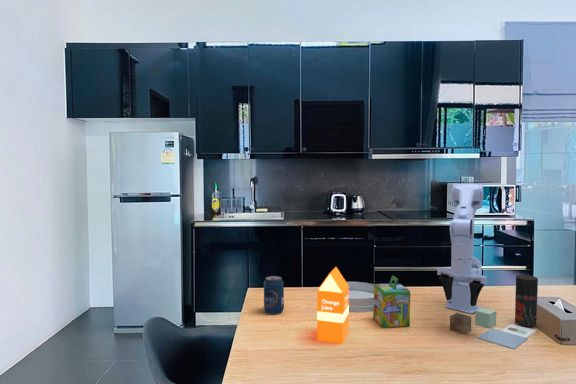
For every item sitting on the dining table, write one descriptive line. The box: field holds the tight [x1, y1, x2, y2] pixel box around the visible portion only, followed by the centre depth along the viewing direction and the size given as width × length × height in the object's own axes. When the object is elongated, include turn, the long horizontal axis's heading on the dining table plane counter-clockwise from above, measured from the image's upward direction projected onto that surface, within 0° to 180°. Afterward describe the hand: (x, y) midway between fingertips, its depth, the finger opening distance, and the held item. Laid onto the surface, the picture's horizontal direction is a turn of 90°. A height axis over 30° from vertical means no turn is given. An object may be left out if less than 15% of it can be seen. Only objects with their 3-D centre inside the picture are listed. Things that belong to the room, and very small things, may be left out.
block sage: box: [474, 307, 497, 329], centre depth 129 cm, size 4×4×4 cm
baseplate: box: [477, 327, 528, 350], centre depth 118 cm, size 10×10×1 cm
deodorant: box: [514, 274, 539, 329], centre depth 128 cm, size 6×6×15 cm
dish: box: [346, 281, 374, 313], centre depth 152 cm, size 22×22×5 cm
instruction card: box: [500, 323, 537, 338], centre depth 123 cm, size 7×9×1 cm
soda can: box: [263, 275, 285, 316], centre depth 142 cm, size 7×7×12 cm
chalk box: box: [372, 275, 411, 329], centre depth 131 cm, size 9×9×15 cm
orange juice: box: [316, 266, 350, 344], centre depth 120 cm, size 8×9×20 cm
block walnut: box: [449, 312, 472, 335], centre depth 124 cm, size 4×4×4 cm
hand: (460, 302), depth 124 cm, fingers open, 7 cm apart
